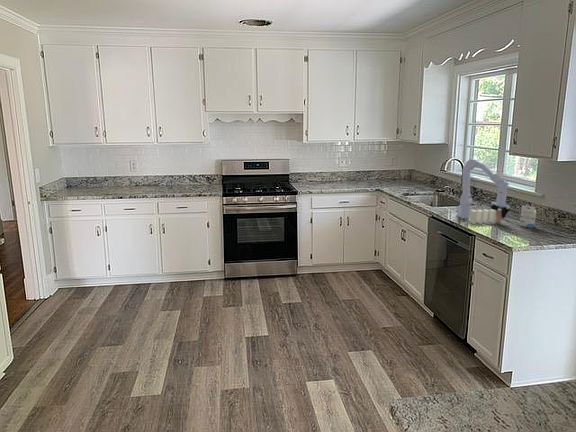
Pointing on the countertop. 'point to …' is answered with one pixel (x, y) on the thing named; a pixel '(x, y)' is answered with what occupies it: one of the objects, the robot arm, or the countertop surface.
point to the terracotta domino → (499, 216)
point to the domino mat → (489, 222)
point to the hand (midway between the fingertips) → (498, 216)
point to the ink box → (527, 216)
